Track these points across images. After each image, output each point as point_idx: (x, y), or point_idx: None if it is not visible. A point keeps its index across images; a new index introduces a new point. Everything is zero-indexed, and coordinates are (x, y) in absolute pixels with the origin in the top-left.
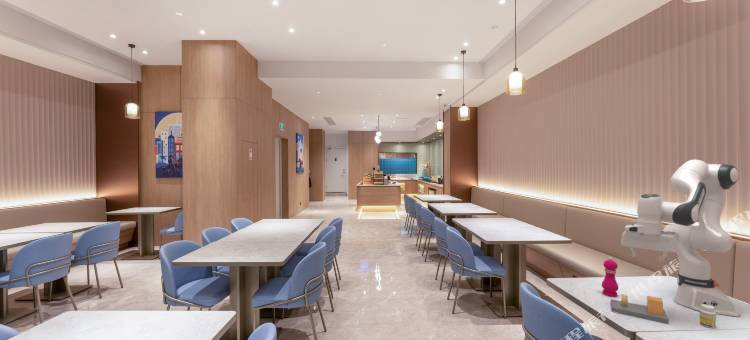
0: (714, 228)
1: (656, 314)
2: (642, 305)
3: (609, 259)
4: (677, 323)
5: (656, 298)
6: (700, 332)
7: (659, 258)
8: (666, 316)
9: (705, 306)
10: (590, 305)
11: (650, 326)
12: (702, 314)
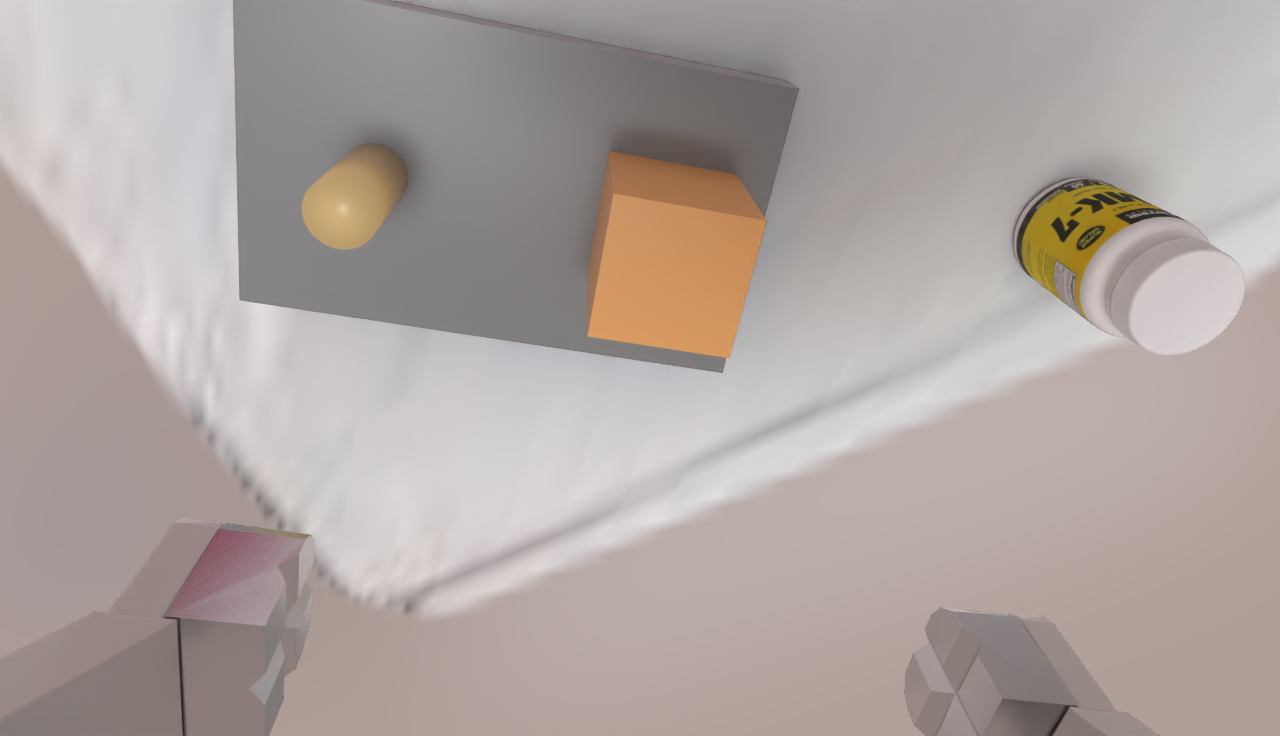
0: None
1: None
2: (590, 54)
3: None
4: (804, 300)
5: (700, 255)
6: (900, 413)
7: (964, 656)
8: None
9: (1150, 326)
10: (40, 192)
11: (543, 470)
12: (1068, 295)
